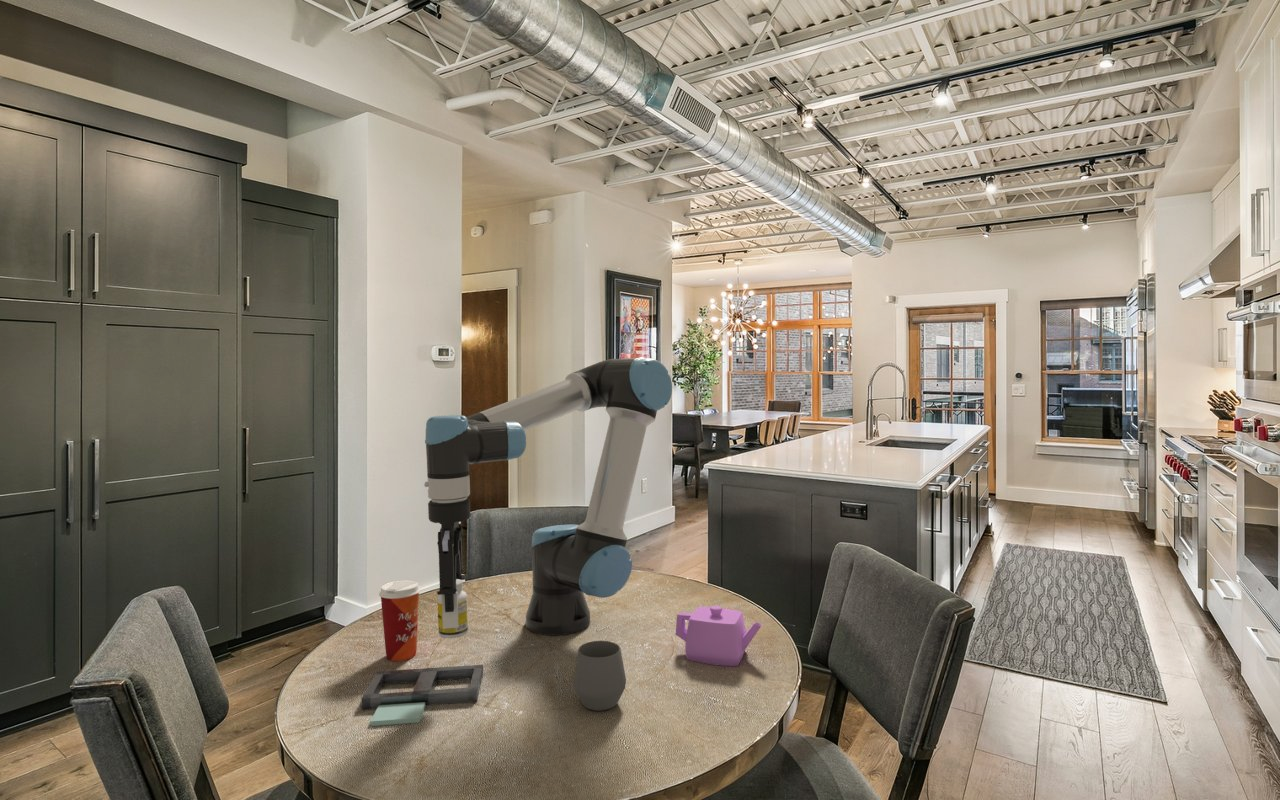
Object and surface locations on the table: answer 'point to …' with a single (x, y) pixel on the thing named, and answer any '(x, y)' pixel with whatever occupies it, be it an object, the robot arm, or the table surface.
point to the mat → (398, 714)
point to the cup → (599, 675)
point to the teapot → (715, 635)
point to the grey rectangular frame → (424, 686)
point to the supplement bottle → (461, 615)
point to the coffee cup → (400, 618)
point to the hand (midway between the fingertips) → (453, 621)
